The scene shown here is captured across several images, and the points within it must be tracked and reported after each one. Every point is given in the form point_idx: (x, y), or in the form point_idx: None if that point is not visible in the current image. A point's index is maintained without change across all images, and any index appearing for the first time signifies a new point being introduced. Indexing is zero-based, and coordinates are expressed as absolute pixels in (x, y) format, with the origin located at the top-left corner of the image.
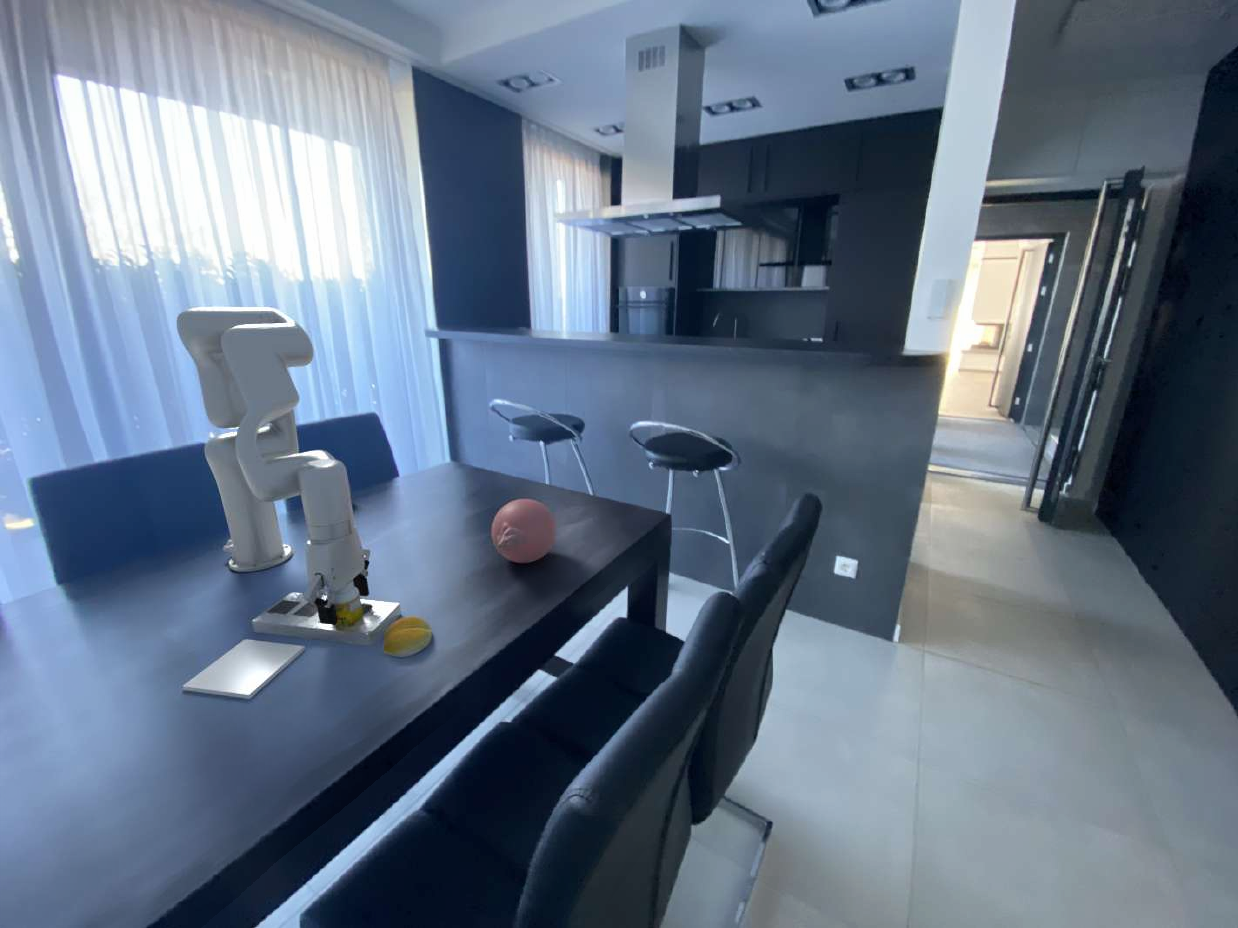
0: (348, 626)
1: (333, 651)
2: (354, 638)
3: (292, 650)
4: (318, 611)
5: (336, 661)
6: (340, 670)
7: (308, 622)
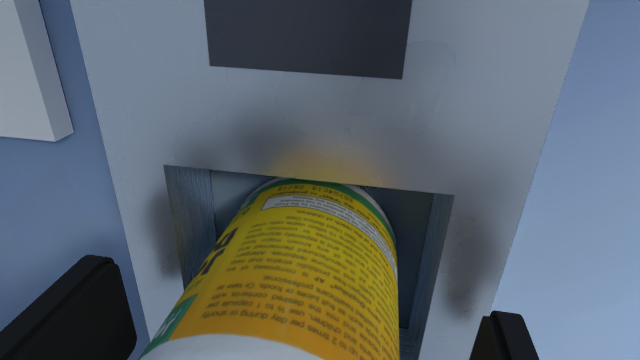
0: None
1: (121, 262)
2: None
3: (3, 98)
4: (4, 335)
5: None
6: None
7: (146, 91)
